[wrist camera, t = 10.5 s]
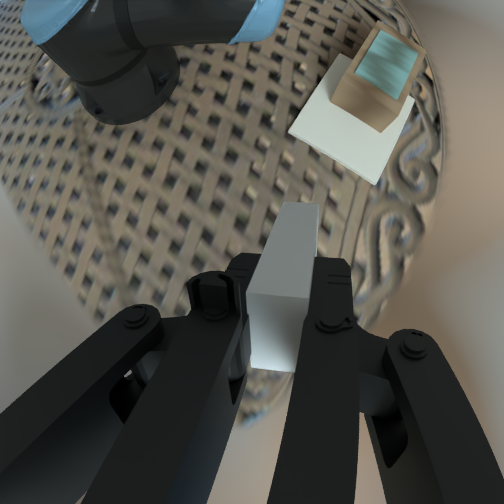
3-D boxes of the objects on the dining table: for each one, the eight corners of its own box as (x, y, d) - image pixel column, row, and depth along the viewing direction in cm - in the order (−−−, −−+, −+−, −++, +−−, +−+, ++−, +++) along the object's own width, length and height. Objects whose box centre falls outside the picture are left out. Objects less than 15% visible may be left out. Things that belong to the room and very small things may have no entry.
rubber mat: (288, 132, 38) (288, 130, 38) (338, 54, 39) (339, 52, 38) (374, 185, 38) (375, 184, 38) (413, 101, 38) (415, 99, 38)
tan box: (341, 78, 32) (378, 19, 32) (329, 101, 38) (366, 42, 38) (399, 115, 31) (427, 49, 32) (380, 133, 38) (410, 70, 38)
